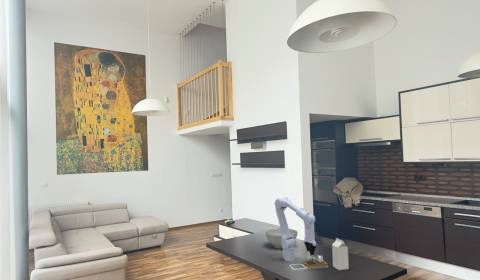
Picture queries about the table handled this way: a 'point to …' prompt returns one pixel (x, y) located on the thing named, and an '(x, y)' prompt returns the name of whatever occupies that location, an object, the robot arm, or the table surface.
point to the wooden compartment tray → (314, 264)
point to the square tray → (297, 269)
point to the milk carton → (340, 255)
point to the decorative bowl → (278, 236)
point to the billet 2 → (319, 259)
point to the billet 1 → (309, 256)
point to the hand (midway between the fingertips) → (310, 254)
